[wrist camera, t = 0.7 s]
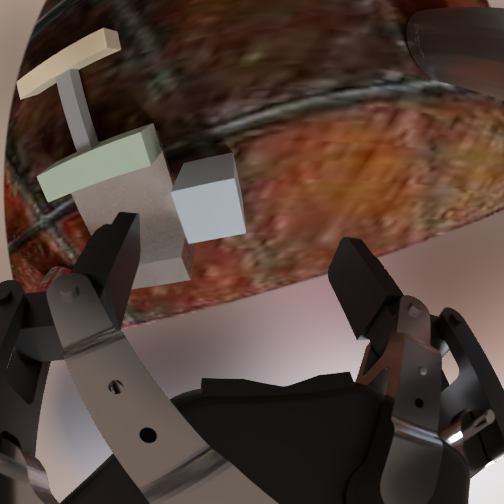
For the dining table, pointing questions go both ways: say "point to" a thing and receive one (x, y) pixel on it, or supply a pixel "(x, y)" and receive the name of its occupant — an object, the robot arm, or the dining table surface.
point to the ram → (86, 121)
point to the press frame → (143, 219)
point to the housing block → (209, 199)
